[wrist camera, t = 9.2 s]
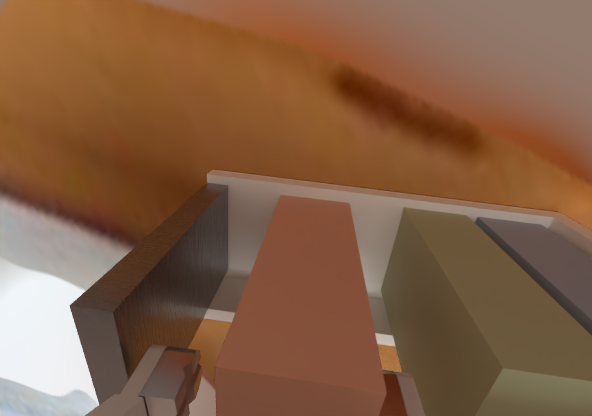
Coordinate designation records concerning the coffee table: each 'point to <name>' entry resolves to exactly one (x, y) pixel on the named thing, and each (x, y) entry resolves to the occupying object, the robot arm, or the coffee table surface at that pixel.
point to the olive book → (480, 325)
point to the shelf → (367, 223)
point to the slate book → (547, 263)
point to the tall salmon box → (303, 322)
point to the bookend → (155, 291)
